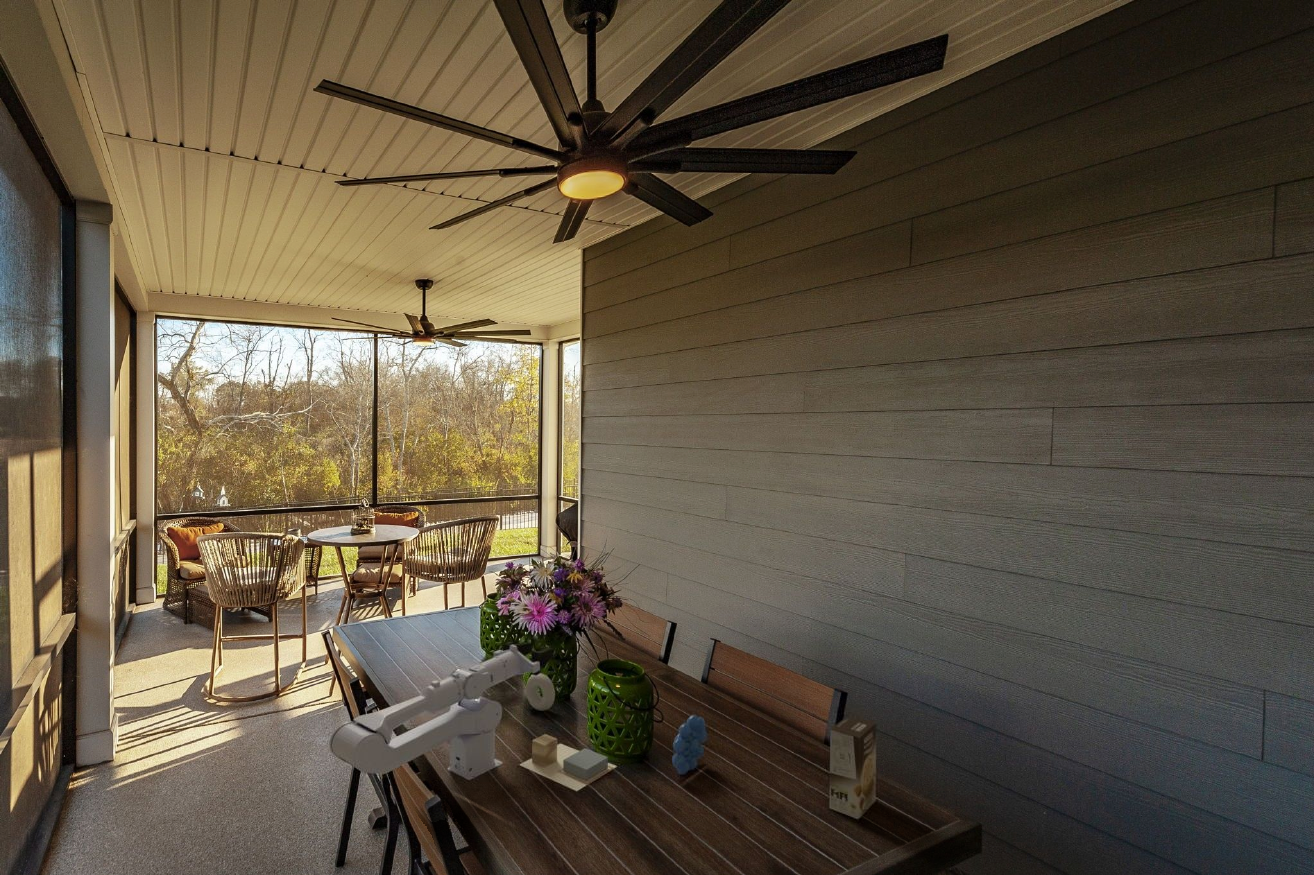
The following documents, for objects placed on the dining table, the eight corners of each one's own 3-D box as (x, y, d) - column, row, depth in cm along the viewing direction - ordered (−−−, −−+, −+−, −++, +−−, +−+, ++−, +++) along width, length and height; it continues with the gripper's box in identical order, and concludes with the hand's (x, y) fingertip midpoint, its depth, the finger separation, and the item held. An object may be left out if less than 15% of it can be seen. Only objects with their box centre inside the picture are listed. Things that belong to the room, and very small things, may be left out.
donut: (522, 707, 176) (523, 671, 177) (531, 703, 179) (532, 668, 179) (548, 716, 171) (548, 679, 171) (557, 712, 173) (558, 675, 174)
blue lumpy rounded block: (689, 755, 150) (690, 704, 150) (713, 764, 146) (713, 711, 146) (658, 774, 141) (659, 720, 141) (682, 785, 137) (683, 729, 137)
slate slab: (586, 781, 137) (586, 769, 137) (563, 771, 141) (563, 760, 141) (607, 768, 142) (607, 757, 142) (584, 759, 146) (585, 748, 147)
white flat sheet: (576, 794, 133) (576, 790, 133) (519, 767, 144) (519, 764, 144) (617, 769, 143) (617, 765, 143) (560, 746, 154) (560, 743, 154)
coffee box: (859, 821, 124) (859, 738, 124) (828, 808, 128) (828, 729, 129) (876, 801, 131) (876, 723, 132) (846, 790, 135) (847, 714, 136)
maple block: (544, 767, 142) (544, 745, 142) (531, 762, 145) (532, 740, 145) (557, 760, 146) (557, 739, 146) (544, 755, 148) (545, 734, 148)
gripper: (518, 658, 144) (561, 639, 155) (477, 646, 153) (521, 628, 163) (520, 689, 144) (562, 667, 155) (479, 675, 153) (522, 655, 164)
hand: (541, 649), depth 159 cm, fingers open, 7 cm apart
